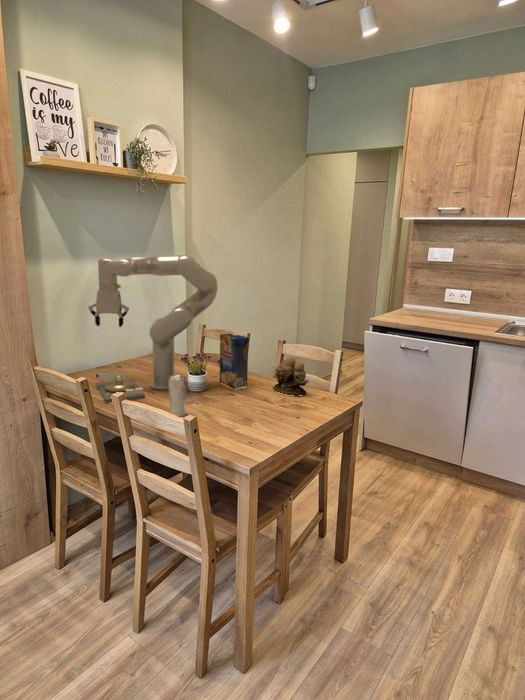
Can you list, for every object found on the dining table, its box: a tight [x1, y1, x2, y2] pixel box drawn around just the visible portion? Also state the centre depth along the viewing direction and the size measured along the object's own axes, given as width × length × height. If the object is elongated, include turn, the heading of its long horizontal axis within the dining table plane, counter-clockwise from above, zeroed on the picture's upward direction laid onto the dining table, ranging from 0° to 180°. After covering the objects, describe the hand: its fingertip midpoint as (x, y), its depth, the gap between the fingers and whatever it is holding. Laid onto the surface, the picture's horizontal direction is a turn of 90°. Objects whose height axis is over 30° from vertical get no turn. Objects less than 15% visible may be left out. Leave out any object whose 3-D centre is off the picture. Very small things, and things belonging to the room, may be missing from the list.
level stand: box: [95, 378, 146, 403], centre depth 195 cm, size 16×24×4 cm, turn 28°
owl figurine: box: [272, 356, 310, 397], centre depth 202 cm, size 18×12×17 cm, turn 53°
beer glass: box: [167, 374, 188, 418], centre depth 171 cm, size 7×7×15 cm
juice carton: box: [219, 332, 249, 389], centre depth 206 cm, size 12×8×24 cm, turn 39°
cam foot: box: [95, 372, 134, 393], centre depth 195 cm, size 18×12×6 cm
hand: (109, 326), depth 196 cm, fingers open, 9 cm apart
